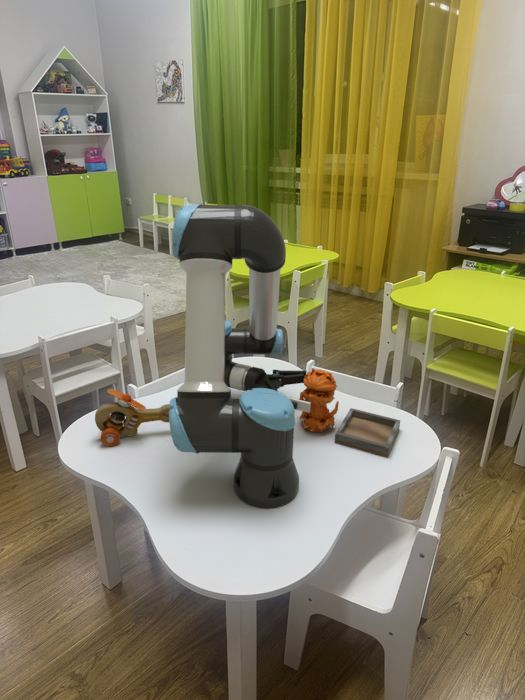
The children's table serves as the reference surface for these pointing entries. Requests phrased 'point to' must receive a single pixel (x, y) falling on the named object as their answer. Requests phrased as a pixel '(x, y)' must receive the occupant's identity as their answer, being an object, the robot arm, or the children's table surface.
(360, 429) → the tray
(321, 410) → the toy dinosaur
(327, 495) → the children's table surface
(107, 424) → the toy helicopter
